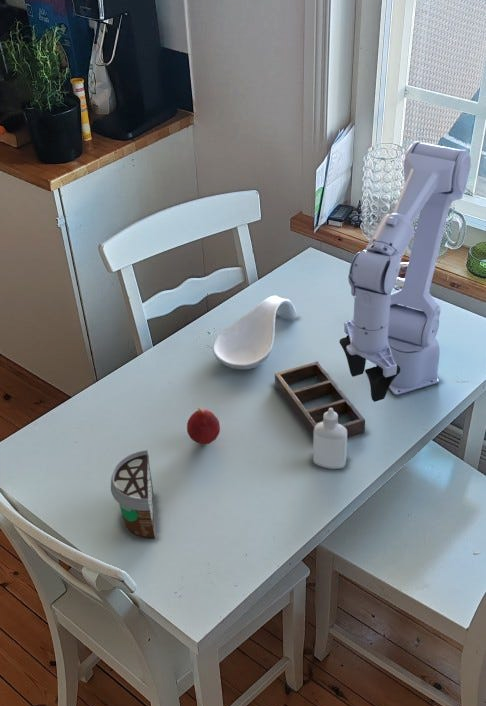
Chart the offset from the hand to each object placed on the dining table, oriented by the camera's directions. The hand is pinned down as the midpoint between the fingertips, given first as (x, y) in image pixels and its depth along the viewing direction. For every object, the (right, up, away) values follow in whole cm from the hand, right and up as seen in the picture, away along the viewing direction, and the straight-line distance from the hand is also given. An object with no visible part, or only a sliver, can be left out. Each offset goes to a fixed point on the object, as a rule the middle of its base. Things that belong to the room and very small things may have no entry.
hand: (367, 386), depth 159 cm
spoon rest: (-18, +11, +28) cm, 35 cm away
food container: (-39, -23, -6) cm, 46 cm away
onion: (-28, -10, +7) cm, 31 cm away
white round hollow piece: (+12, +15, +32) cm, 37 cm away
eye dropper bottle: (-6, -13, +2) cm, 15 cm away
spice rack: (-7, -3, +12) cm, 15 cm away
